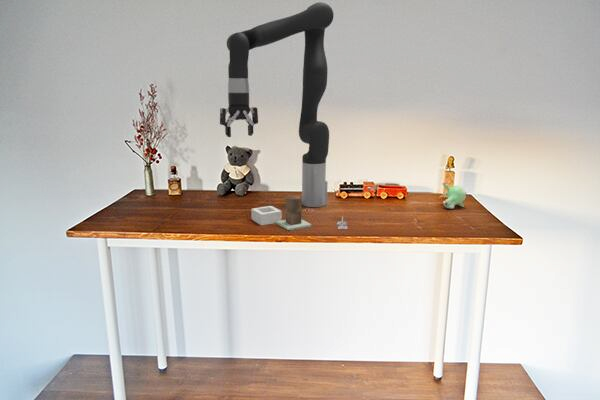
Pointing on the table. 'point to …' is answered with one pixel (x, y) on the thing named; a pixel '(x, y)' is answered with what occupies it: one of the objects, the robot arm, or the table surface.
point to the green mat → (293, 227)
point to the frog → (453, 196)
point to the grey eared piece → (342, 224)
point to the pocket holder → (266, 215)
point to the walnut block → (293, 210)
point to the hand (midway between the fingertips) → (239, 136)
